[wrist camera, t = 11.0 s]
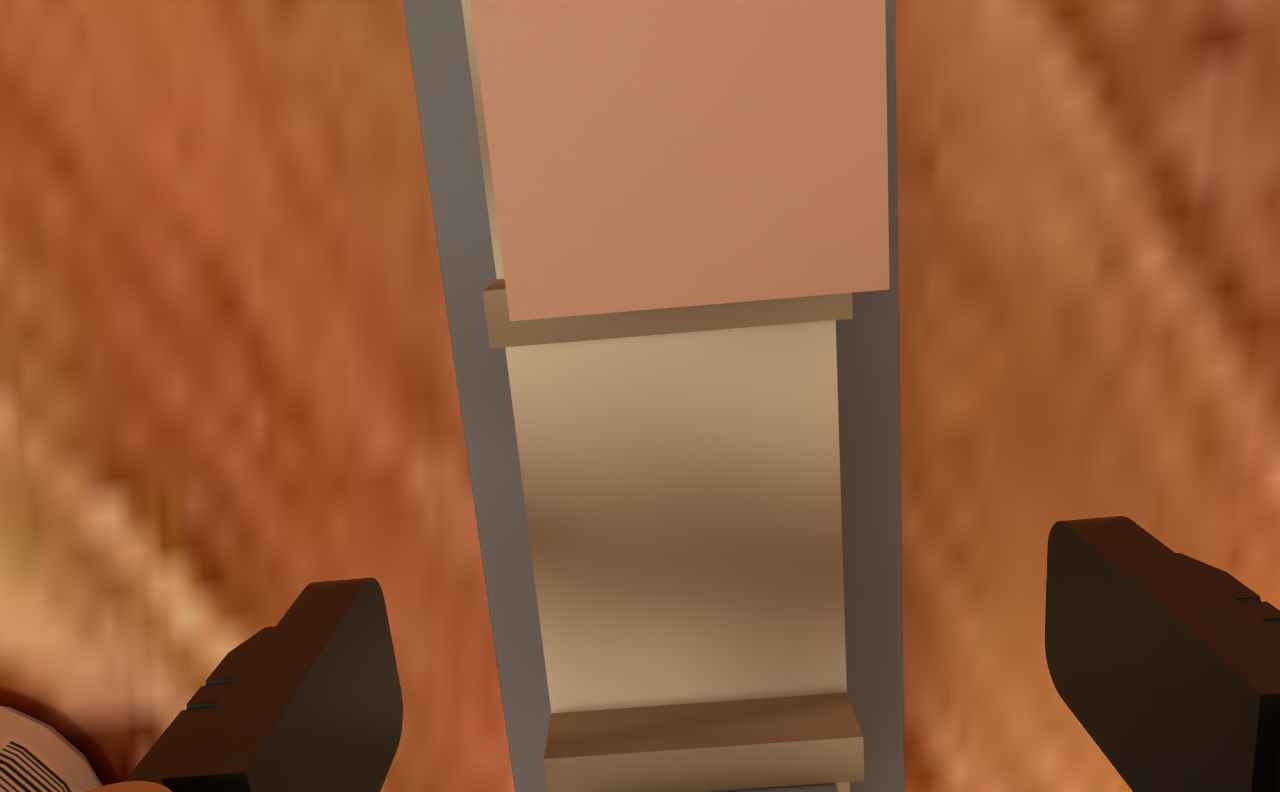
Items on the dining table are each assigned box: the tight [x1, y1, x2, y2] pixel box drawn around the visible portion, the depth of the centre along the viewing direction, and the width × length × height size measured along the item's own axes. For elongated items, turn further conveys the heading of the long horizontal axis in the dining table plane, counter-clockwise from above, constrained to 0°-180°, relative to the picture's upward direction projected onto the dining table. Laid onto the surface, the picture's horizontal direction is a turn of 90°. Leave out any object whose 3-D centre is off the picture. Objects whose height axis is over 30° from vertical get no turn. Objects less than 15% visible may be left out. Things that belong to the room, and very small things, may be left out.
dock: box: [403, 0, 904, 792], centre depth 21 cm, size 24×9×4 cm, turn 5°
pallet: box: [461, 0, 864, 792], centre depth 16 cm, size 20×5×6 cm, turn 5°
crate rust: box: [470, 0, 889, 321], centre depth 11 cm, size 4×4×4 cm
